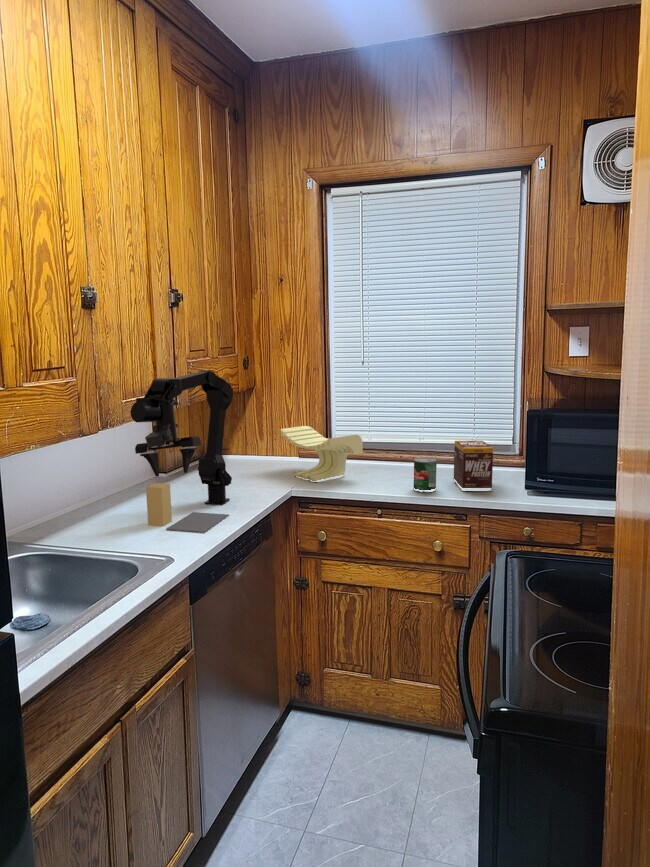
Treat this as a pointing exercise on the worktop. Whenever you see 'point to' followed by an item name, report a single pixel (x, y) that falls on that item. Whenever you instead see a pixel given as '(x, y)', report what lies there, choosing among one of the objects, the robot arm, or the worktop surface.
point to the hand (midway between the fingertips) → (171, 474)
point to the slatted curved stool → (324, 451)
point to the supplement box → (473, 464)
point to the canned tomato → (425, 473)
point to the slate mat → (197, 522)
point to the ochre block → (158, 504)
